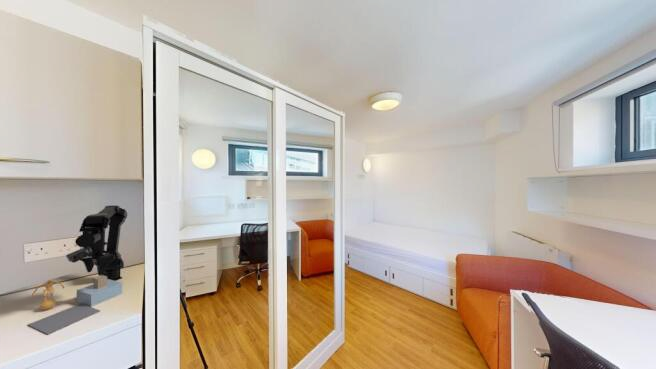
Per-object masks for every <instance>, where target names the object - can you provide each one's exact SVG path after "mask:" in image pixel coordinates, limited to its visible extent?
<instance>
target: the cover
mask: <svg viewBox="0 0 656 369" xmlns="http://www.w3.org/2000/svg"><path fill="white" fill-rule="evenodd" d="M122 294H123V282H120V281H118V280H115V281H113V280H110V279H107V276H104V275H102V276H101V275H100V276H97V277H94V278H93V284H90V285H87V286H85V287H81V288H78V289H76V298H75V299H76V300H75V301H76V303H78V304H84V305H86V306H89V307H92V308H93V307H94V306H96V305H99V304H101V303H103V302H105V301H108V300H110V299H113V298H115V297H118V296H120V295H122Z"/></svg>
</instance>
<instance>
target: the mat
mask: <svg viewBox="0 0 656 369" xmlns="http://www.w3.org/2000/svg"><path fill="white" fill-rule="evenodd" d="M99 312H101V310H99V309H97V308H95V307H93V306H92V307H90V306H87V305H85V304H82V303H78V304H77V305H73V306H71V307H68V308H66V309H63V310H60V311H59V312H56V313H54V314H53V313H52V314H51V315H49V316H45V317H43V318H41V319H38V320H35V321H33V322H31V323H29V324H28V323H27V326H28V327H30V328H32V329H33V330H37V331H38V332H41V333H43V334H45V335H47V336H48V335H50V334H53V333H55V332H57V331H60V330H62V329H64V328H66V327H68V326H70V325H73V324H75V323H77V322H80V321H82V320H84V319H87V318H88V317H90V316H93V315H96V313H99Z"/></svg>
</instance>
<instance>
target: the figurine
mask: <svg viewBox="0 0 656 369" xmlns="http://www.w3.org/2000/svg"><path fill="white" fill-rule="evenodd" d="M54 284H59V285H60V287H61V288H62V289H65V286H64V284H62V282H61V281H54V280H47V281H46V282H45V283H42V284H41V285H38V286H37V287H36V288H35V290H33V291H32V294H31V297H33V296H34V294H35V293H36V292H37V290H38V289H39V288H42V287H44V288H45V289H44V290H43V293H42V294H43V298H44V301H43V302H41V303H40V305H39V308H40V310H42V311H44V310H46V311H47V310H50V309H51V308H52V309H53V307H54V306H55V305H56V303H57V301H56V300H55V299H53V295H54V292H55V291H54V290H55V288H54V287H53V286H54ZM48 292H49V293H50V296H49V297H50V298H49V299H48V298H47V294H48Z"/></svg>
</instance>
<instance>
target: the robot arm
mask: <svg viewBox="0 0 656 369" xmlns="http://www.w3.org/2000/svg"><path fill="white" fill-rule="evenodd" d="M127 218H128V212H127V210H126V209H124V208H122V207H120V205H105V206H104V207H103V209H102V210H100V211H99V212H98V213H92V214H89V215H86V217H85V218H83V220H82V223H81V225H80V228H79V232H80V233H82V234H81V235H79V236H77V238H75V241H74V242H75V245H76V246H77V247H79V248H80V249H77V250H75V251H72V252H70V253H68V254H66V255H65V257H66V259H67V261H68V262H71V263H77V262H79V261H80V262H82V263H83V264H84V266H85V269H86V272H87V273H91V272H93V269H94V267H95V266H96V269H97V275H98V276H97V277H99V276H102V275H104V276H107V279H110V280H113V281H118V280H120V279H123V276H121V270H122V269H124V267H125V262H124V259H123V258H122V254H121V253H120V252H119V246H120V245H119V244H120V235H121V229H122V228H121V227H122V225H123V224H124V223H125V222H126V219H127ZM107 229H108V235H107V241H106V230H107ZM105 246H106V249H105Z"/></svg>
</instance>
